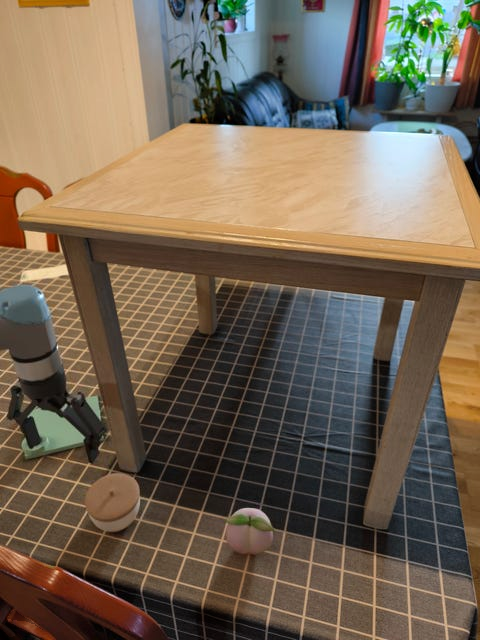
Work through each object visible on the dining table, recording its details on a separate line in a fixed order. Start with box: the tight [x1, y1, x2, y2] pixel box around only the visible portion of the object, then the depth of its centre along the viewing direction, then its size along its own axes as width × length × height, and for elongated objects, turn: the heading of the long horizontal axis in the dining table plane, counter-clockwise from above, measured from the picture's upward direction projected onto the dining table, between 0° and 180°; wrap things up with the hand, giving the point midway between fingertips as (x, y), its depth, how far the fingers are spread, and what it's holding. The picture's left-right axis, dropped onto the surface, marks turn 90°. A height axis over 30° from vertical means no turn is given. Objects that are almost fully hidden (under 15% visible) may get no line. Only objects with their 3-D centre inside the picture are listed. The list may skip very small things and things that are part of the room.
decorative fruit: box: [224, 507, 275, 556], centre depth 86 cm, size 9×8×10 cm
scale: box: [21, 395, 105, 460], centre depth 113 cm, size 18×16×4 cm
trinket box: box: [84, 472, 141, 533], centre depth 91 cm, size 11×11×9 cm
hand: (64, 451), depth 89 cm, fingers open, 13 cm apart
